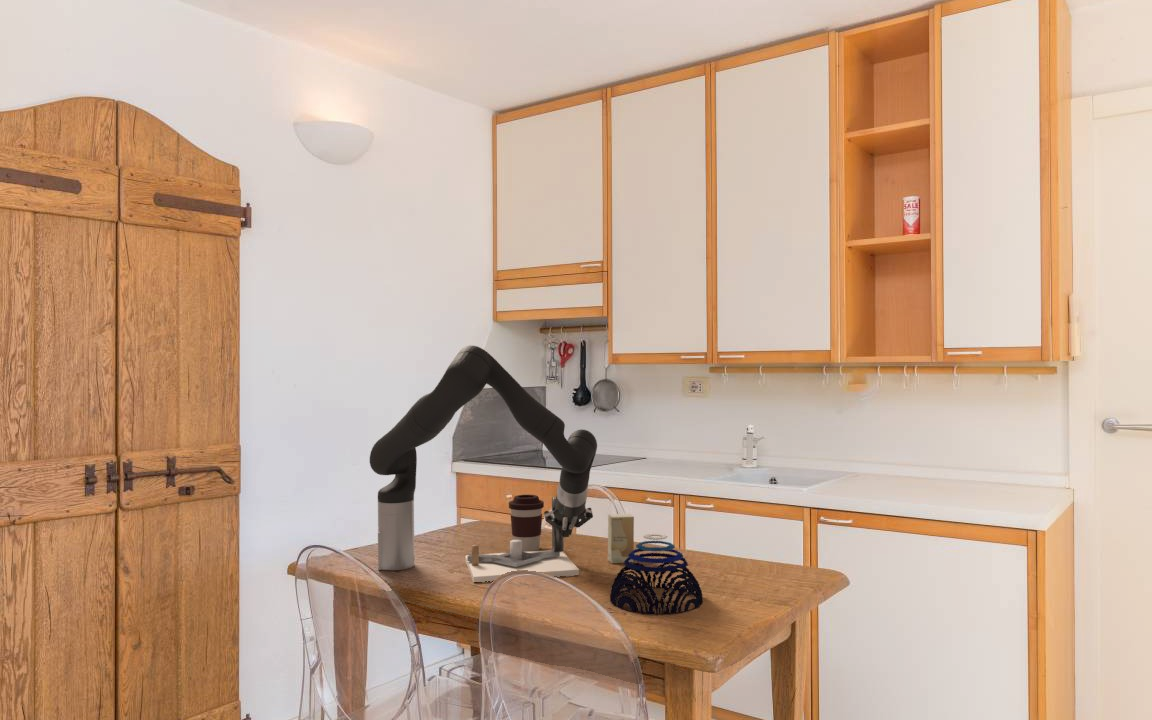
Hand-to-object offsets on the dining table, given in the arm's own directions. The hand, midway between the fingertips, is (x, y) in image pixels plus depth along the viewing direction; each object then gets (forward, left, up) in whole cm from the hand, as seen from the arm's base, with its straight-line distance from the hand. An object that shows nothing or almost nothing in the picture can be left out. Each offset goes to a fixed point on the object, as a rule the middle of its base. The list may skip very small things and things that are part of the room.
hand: (565, 534), depth 210 cm
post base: (-13, -1, -8) cm, 15 cm away
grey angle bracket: (-13, +2, -6) cm, 14 cm away
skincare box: (+15, -1, -8) cm, 17 cm away
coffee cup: (-7, +19, -8) cm, 22 cm away
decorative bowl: (+12, -36, -8) cm, 39 cm away
